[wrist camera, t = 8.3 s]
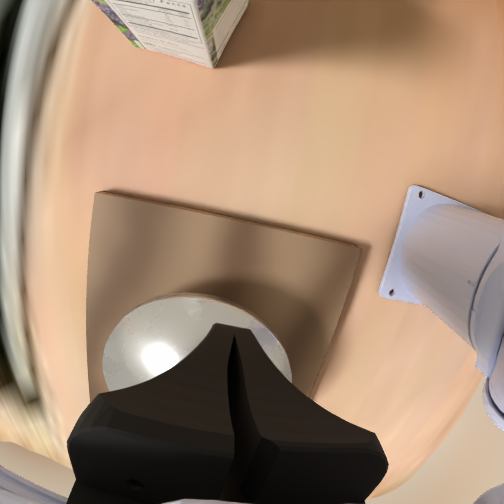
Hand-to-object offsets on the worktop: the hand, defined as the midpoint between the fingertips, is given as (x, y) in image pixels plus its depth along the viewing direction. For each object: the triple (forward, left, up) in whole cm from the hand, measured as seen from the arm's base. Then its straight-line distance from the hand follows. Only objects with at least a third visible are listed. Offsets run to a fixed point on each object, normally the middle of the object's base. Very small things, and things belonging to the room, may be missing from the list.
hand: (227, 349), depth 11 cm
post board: (+1, +7, -10) cm, 12 cm away
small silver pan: (+2, +9, -9) cm, 13 cm away
